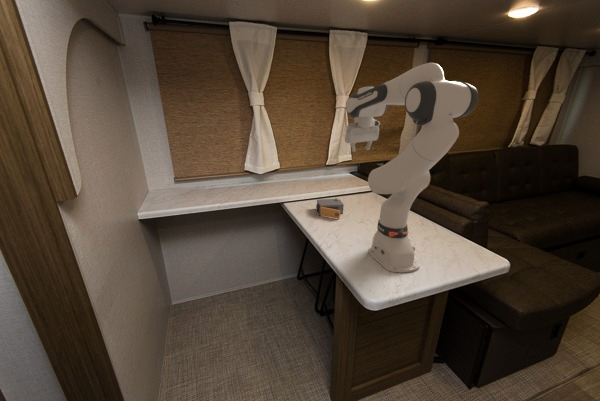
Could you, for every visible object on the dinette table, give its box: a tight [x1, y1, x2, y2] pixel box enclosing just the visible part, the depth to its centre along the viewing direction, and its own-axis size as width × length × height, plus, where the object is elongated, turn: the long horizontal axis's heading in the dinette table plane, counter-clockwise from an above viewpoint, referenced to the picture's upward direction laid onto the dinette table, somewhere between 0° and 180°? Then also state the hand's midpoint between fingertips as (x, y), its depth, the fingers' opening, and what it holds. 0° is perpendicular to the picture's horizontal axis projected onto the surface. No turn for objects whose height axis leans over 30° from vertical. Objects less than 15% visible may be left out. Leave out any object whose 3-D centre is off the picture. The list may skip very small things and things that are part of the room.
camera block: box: [315, 197, 345, 215], centre depth 155 cm, size 10×15×7 cm, turn 97°
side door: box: [318, 207, 341, 220], centre depth 147 cm, size 2×12×5 cm, turn 62°
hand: (360, 150), depth 131 cm, fingers open, 8 cm apart
